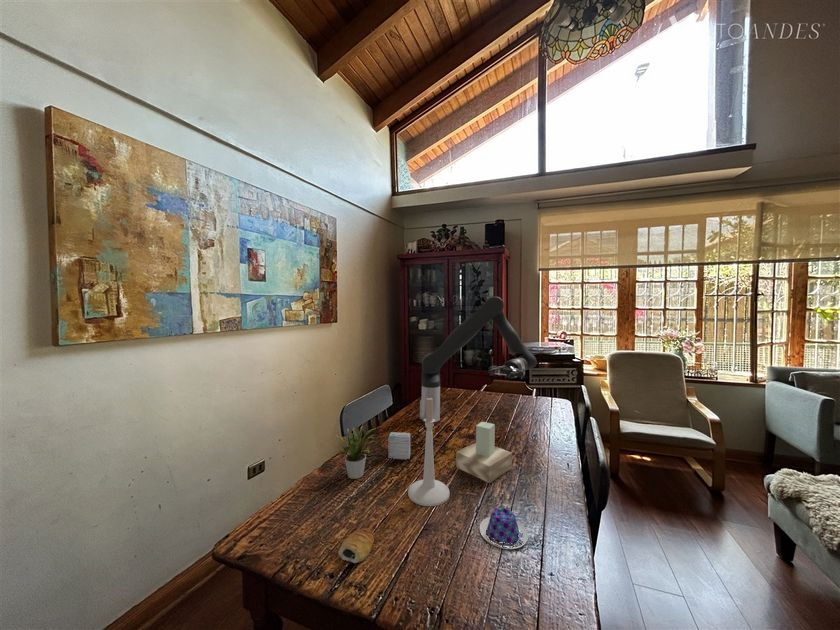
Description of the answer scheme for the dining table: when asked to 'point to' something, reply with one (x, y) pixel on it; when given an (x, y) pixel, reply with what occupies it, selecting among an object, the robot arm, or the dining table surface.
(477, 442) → the pale green block
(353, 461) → the house plant
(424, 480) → the candlestick
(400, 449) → the medicine box
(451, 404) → the dining table surface
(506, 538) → the pudding
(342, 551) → the pastry
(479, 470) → the oak block
